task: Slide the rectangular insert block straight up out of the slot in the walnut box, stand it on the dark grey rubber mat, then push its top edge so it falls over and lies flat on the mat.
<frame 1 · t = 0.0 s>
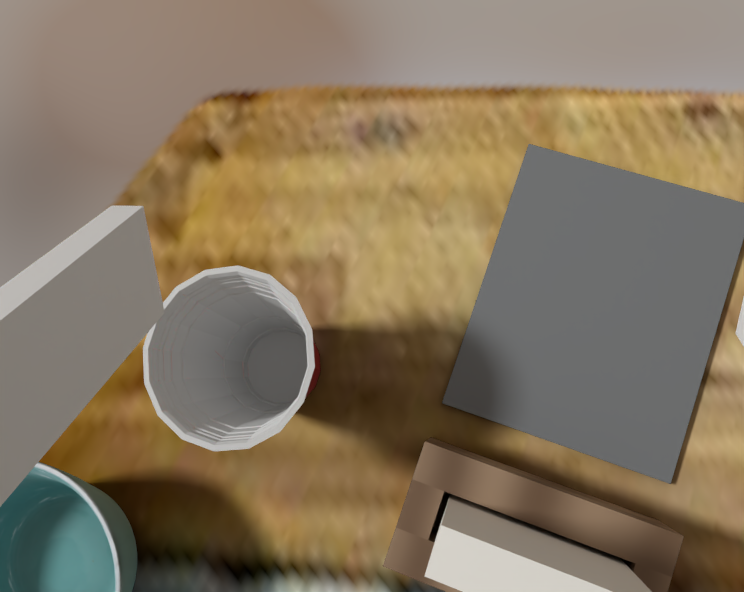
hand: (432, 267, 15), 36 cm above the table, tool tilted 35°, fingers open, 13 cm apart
plastic cup: (280, 367, 53), on the table
rectangular insert block: (523, 536, 47), point 1 cm above the table, touching slot box
slot box: (522, 533, 48), on the table
rubber mat: (595, 306, 50), on the table
bowl: (76, 558, 53), on the table
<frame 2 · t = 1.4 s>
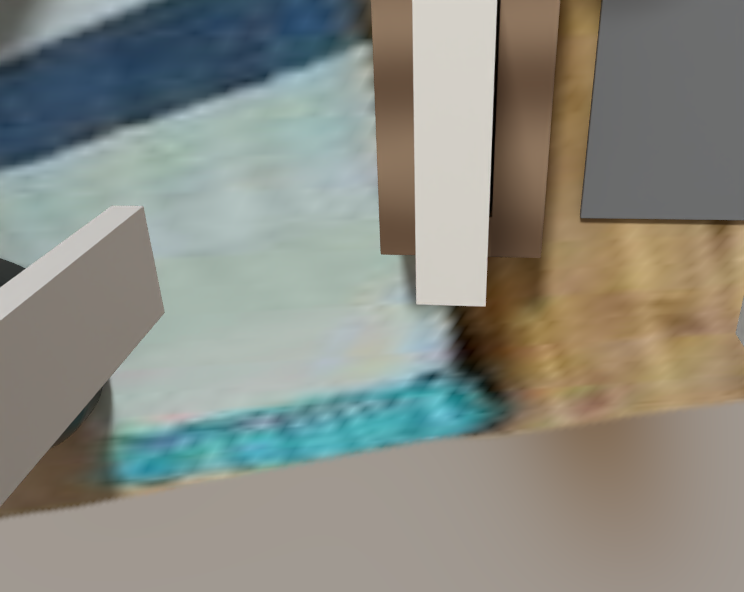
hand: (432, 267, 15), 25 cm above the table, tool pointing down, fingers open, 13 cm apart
rectangular insert block: (465, 74, 36), point 1 cm above the table, touching slot box
slot box: (465, 70, 37), on the table
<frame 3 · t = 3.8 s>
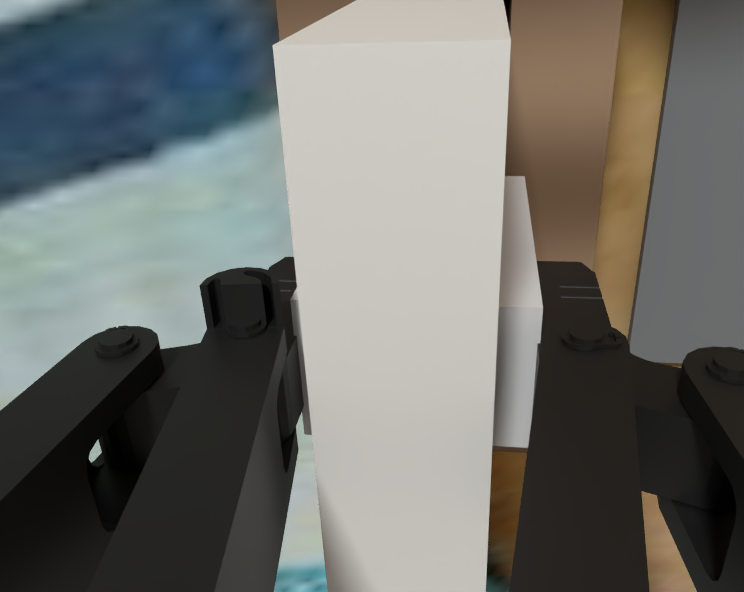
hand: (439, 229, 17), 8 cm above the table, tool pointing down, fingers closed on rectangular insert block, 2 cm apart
rectangular insert block: (451, 154, 23), point 1 cm above the table, touching gripper, slot box
slot box: (453, 146, 24), on the table
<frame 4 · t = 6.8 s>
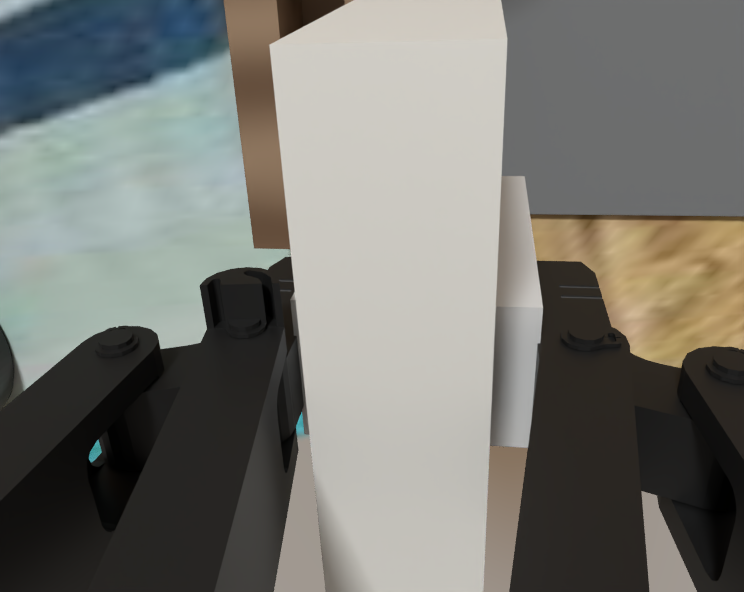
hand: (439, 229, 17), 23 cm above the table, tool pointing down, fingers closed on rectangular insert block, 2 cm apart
rectangular insert block: (450, 154, 23), point 17 cm above the table, touching gripper
slot box: (338, 71, 39), on the table
rubber mat: (653, 66, 37), on the table
when the fingers open (8 cm above the table, at t = 9.9 s): rectangular insert block stays where it is, resting on rubber mat.
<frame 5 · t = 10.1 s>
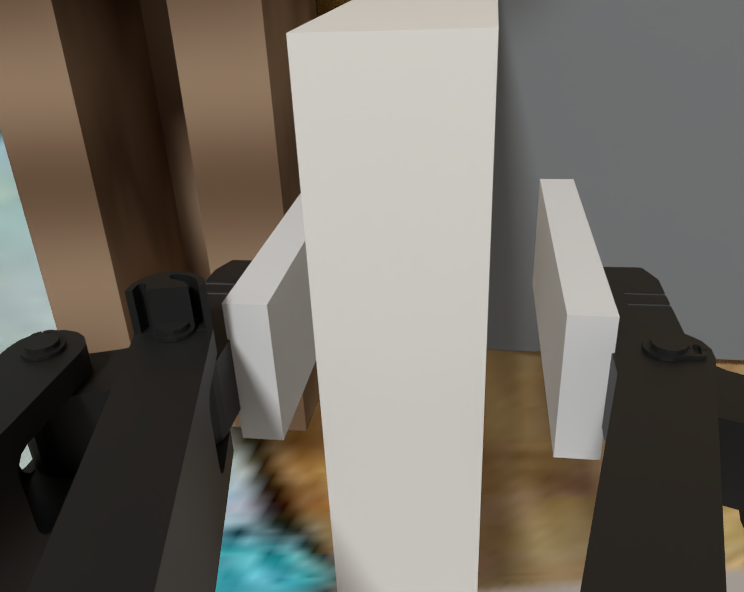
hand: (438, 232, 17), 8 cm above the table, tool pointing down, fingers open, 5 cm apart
rectangular insert block: (453, 146, 24), resting on rubber mat
slot box: (217, 143, 25), on the table
rubber mat: (701, 142, 23), on the table
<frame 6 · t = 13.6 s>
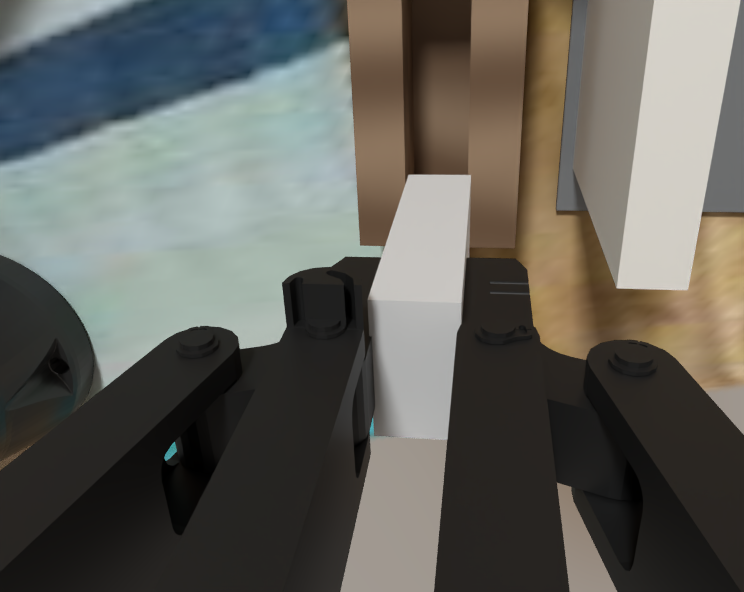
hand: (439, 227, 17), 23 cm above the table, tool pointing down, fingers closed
rectangular insert block: (606, 65, 37), resting on rubber mat
slot box: (443, 66, 38), on the table
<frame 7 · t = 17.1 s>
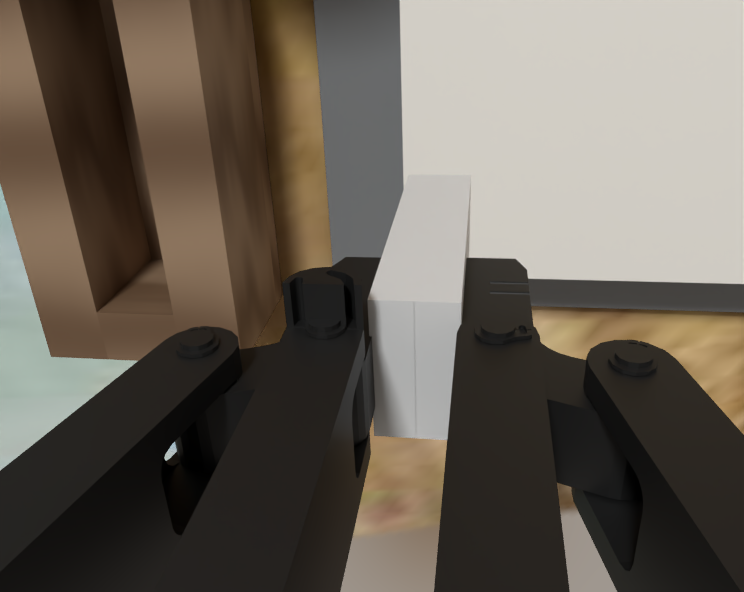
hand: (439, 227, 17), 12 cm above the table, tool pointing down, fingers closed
rectangular insert block: (405, 128, 26), point 2 cm above the table, tilted 90°, touching rubber mat
slot box: (170, 120, 29), on the table
rubber mat: (580, 117, 27), on the table
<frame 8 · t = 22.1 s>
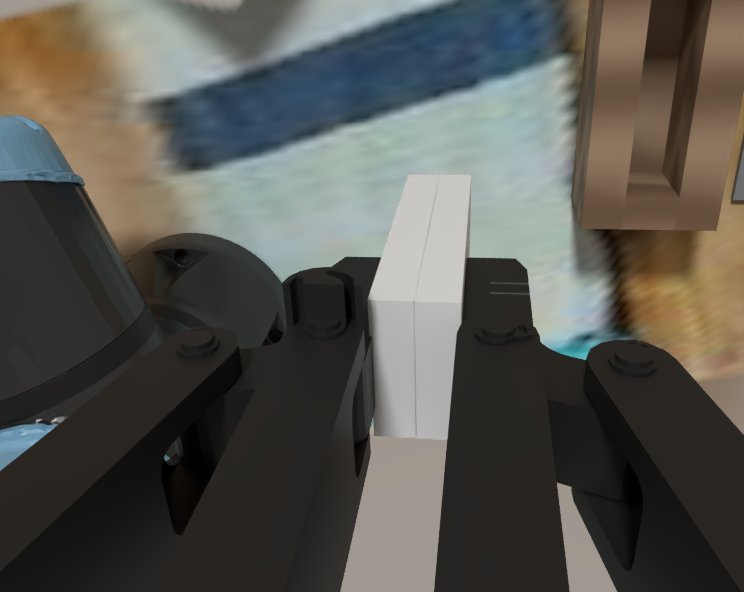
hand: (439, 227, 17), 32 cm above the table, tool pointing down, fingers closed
slot box: (646, 78, 45), on the table
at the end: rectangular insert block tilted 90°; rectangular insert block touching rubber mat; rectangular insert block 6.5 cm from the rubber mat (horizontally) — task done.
